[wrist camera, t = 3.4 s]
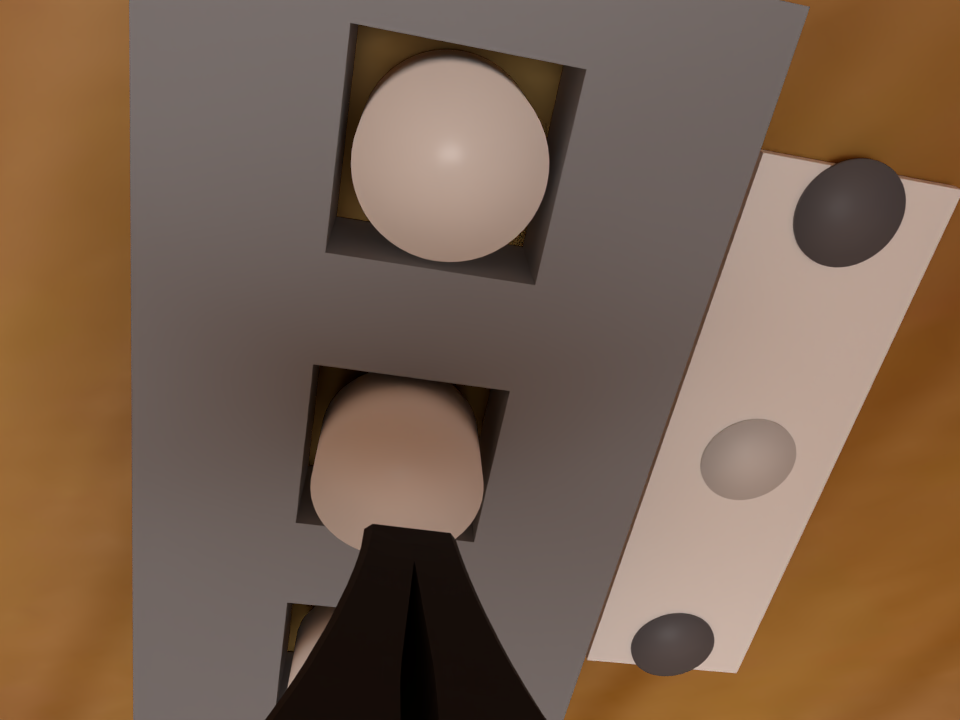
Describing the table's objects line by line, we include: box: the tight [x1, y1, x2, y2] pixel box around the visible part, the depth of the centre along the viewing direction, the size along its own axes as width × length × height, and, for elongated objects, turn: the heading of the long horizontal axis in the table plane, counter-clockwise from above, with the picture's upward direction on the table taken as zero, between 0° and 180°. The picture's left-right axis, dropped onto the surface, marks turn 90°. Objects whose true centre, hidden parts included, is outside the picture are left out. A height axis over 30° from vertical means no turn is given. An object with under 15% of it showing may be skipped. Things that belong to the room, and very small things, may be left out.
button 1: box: [351, 49, 549, 262], centre depth 16 cm, size 4×4×2 cm
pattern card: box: [586, 149, 960, 676], centre depth 22 cm, size 5×17×1 cm, turn 169°
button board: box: [129, 0, 810, 720], centre depth 20 cm, size 12×22×2 cm, turn 169°
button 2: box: [310, 372, 483, 550], centre depth 19 cm, size 4×4×2 cm
